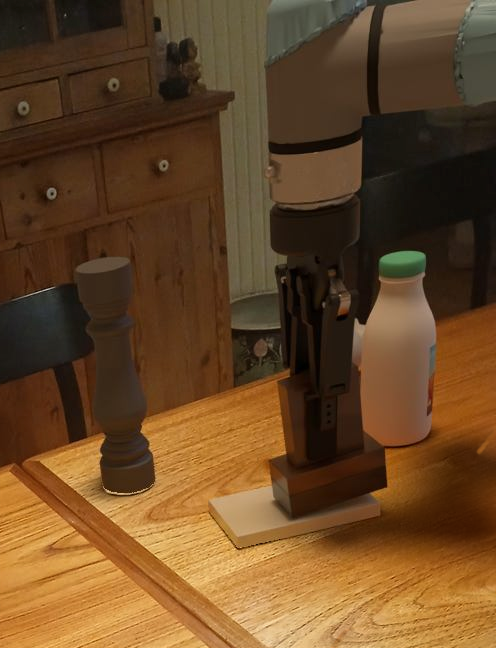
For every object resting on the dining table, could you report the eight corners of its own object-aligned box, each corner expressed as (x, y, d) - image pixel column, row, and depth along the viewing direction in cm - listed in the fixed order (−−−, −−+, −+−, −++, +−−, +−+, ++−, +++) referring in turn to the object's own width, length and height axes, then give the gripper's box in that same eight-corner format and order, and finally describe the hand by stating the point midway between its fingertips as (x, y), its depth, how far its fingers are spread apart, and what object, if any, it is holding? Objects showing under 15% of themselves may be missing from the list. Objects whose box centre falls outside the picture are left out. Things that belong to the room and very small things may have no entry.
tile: (341, 480, 107) (342, 468, 106) (380, 515, 99) (381, 502, 98) (208, 512, 106) (207, 499, 105) (237, 549, 99) (237, 536, 98)
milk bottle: (416, 451, 109) (427, 267, 98) (348, 443, 114) (352, 266, 103) (440, 423, 114) (453, 245, 103) (373, 417, 118) (379, 245, 107)
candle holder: (153, 468, 117) (130, 252, 104) (157, 491, 112) (134, 267, 98) (101, 476, 118) (72, 262, 104) (103, 499, 113) (73, 277, 99)
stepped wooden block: (365, 468, 102) (356, 349, 95) (387, 487, 98) (379, 364, 91) (273, 497, 103) (257, 381, 95) (292, 518, 98) (276, 398, 91)
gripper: (241, 193, 91) (250, 430, 104) (308, 224, 78) (310, 490, 91) (319, 176, 91) (319, 415, 104) (399, 204, 78) (388, 473, 91)
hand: (314, 450), depth 98 cm, fingers closed on stepped wooden block, 3 cm apart
